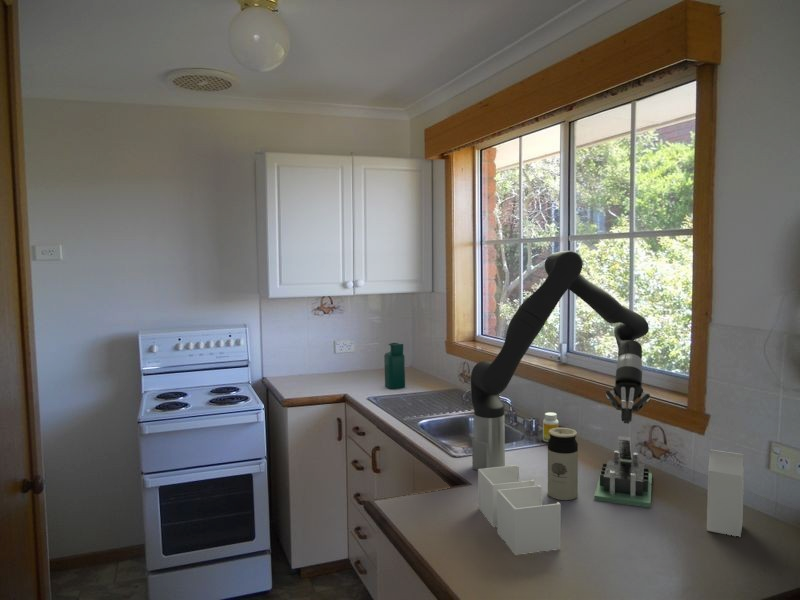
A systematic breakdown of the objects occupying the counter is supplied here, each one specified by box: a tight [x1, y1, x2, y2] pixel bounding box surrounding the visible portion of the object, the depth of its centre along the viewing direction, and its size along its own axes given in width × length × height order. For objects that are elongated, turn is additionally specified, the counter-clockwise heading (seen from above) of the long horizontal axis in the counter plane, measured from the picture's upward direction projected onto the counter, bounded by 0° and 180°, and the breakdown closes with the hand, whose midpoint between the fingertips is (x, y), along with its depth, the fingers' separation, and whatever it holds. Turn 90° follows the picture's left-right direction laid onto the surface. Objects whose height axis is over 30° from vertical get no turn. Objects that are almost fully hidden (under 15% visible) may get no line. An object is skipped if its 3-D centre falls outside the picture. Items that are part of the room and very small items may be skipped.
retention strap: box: [617, 435, 633, 462], centre depth 172 cm, size 16×3×1 cm
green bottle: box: [383, 342, 406, 391], centre depth 296 cm, size 10×8×22 cm
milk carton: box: [706, 449, 745, 538], centre depth 146 cm, size 7×7×19 cm
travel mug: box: [547, 427, 579, 501], centre depth 167 cm, size 8×8×18 cm
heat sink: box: [599, 450, 650, 498], centre depth 171 cm, size 17×12×7 cm
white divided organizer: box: [477, 464, 562, 554], centre depth 149 cm, size 25×11×11 cm, turn 12°
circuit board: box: [593, 468, 653, 508], centre depth 171 cm, size 22×14×1 cm, turn 157°
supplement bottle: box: [542, 412, 560, 443], centre depth 213 cm, size 5×5×10 cm
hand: (626, 422), depth 177 cm, fingers closed
